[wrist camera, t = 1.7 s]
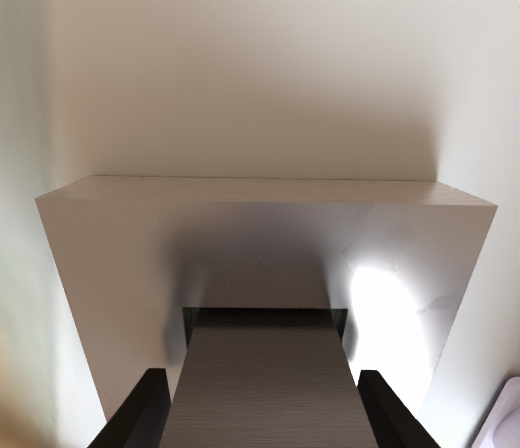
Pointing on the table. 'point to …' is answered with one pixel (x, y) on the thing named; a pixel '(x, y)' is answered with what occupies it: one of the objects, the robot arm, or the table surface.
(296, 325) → the column
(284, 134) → the table surface
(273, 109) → the table surface
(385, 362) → the stand base
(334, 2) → the table surface
